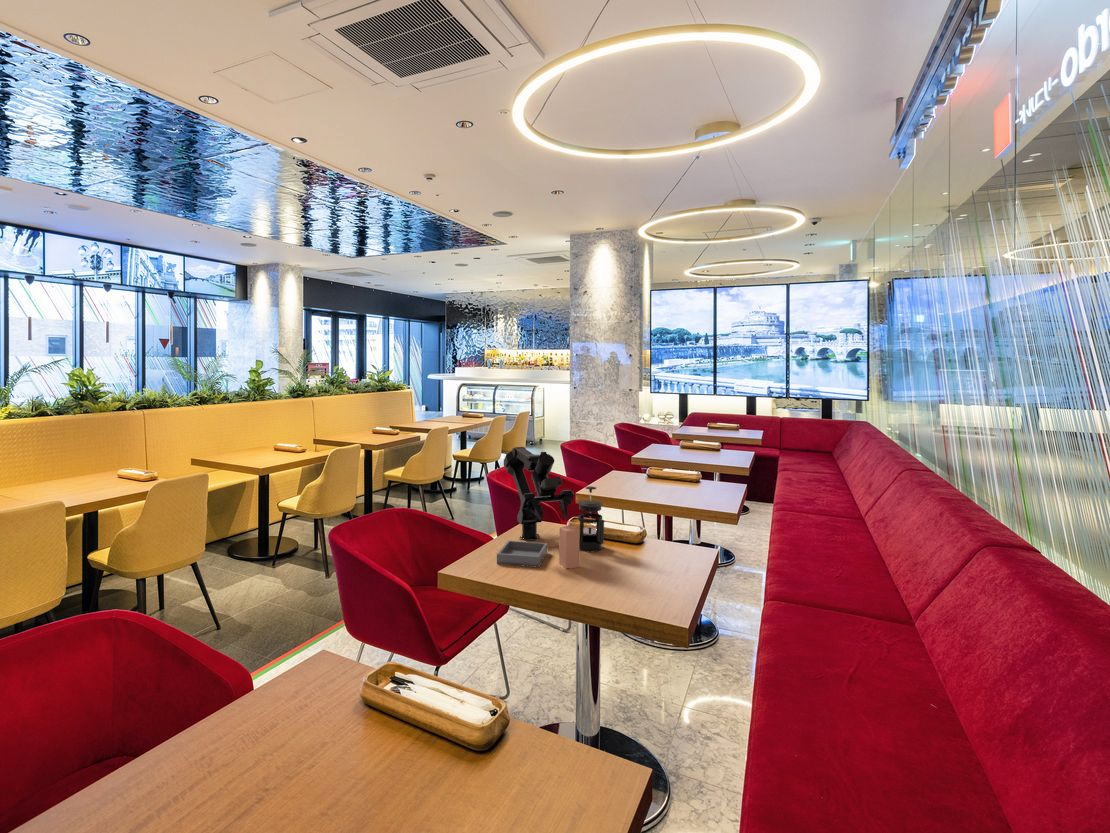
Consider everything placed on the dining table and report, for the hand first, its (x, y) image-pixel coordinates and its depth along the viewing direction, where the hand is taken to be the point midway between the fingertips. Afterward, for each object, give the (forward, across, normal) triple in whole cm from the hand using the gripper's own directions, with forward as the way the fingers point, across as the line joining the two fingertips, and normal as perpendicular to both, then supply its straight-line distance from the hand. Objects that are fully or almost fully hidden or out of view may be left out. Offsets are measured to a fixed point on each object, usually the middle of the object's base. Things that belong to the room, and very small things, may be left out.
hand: (554, 518), depth 196 cm
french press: (+5, +17, +15) cm, 23 cm away
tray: (+6, -10, +14) cm, 18 cm away
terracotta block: (+15, +2, +6) cm, 17 cm away
